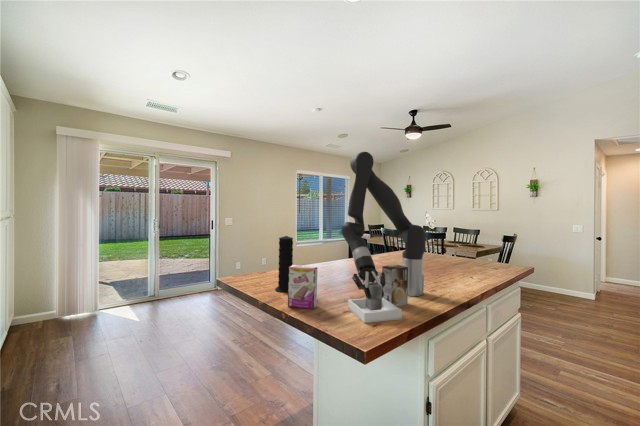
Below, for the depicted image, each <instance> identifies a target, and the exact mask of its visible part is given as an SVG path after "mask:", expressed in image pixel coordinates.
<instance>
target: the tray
mask: <svg viewBox="0 0 640 426" xmlns="http://www.w3.org/2000/svg"><path fill="white" fill-rule="evenodd" d="M347 302H348V303H347V304H348V305H347V309H348V310H350V312H351V313H352V314H354V315H355V316H356V317H357V318H358V319H359V320H360V321H361V322H363V324H369V323H377V322H378V323H379V322H389V321H396V320H403V319H402V312H403V309H401V308H399V306H395V305H393V304H392V303H390V302H389V301H387V300H385V299H384V298H382V309H381V310H369V309H368V308H367V307H366V297H365V298H354V299H348V301H347Z"/></svg>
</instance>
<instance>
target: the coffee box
mask: <svg viewBox="0 0 640 426" xmlns="http://www.w3.org/2000/svg"><path fill="white" fill-rule="evenodd" d="M381 269H382V270H381V273H382V272H384V273H385V283H386V284H385V286H384V287H383V288H382V289H383V292H384V296H383V298H384V299H385V300H387V301H389V302H390V303H392V304H393V305H395V306H396V307H400V306H406V305H408V300H409V298H408V267H405V266H402V264H401V265H400V264H391V265H382V267H381Z"/></svg>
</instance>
